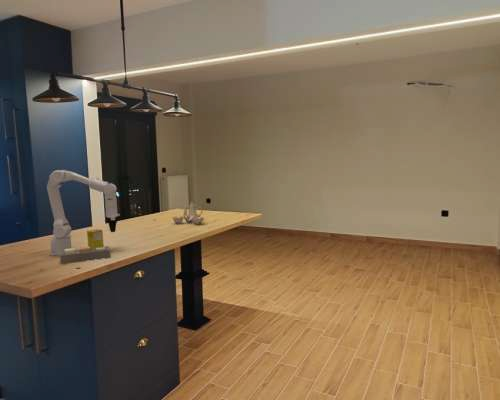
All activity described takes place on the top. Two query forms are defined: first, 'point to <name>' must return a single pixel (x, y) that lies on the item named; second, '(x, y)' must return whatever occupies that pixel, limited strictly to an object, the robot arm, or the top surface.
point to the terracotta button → (85, 249)
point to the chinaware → (190, 216)
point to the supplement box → (95, 238)
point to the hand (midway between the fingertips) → (112, 231)
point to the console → (85, 255)
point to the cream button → (69, 251)
